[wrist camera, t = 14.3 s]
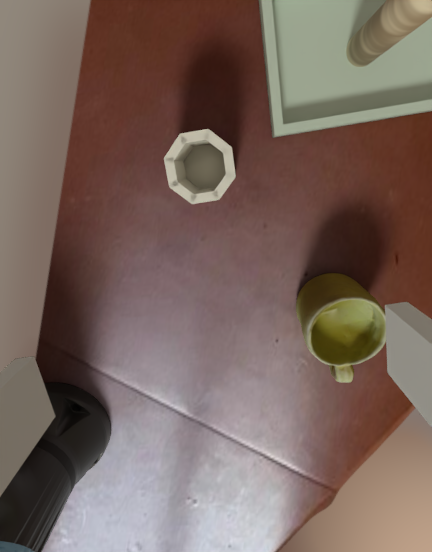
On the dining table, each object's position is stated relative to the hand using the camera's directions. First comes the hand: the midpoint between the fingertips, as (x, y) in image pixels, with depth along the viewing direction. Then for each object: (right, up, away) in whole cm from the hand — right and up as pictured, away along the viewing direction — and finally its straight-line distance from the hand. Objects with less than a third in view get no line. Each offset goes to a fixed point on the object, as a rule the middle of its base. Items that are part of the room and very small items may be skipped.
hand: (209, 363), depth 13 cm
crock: (-1, +16, +29) cm, 33 cm away
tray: (+16, +27, +24) cm, 39 cm away
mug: (+15, -2, +34) cm, 37 cm away
